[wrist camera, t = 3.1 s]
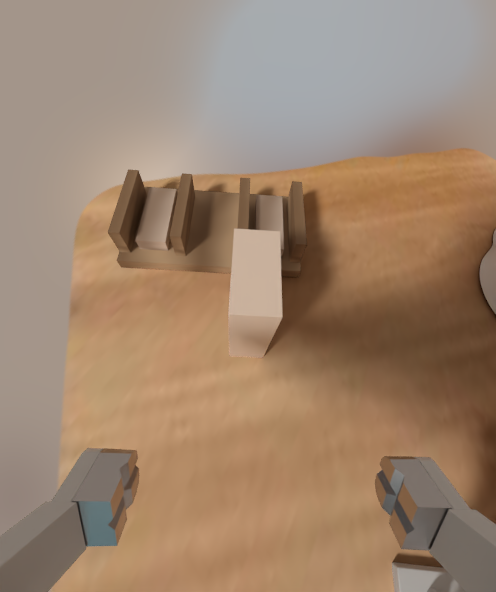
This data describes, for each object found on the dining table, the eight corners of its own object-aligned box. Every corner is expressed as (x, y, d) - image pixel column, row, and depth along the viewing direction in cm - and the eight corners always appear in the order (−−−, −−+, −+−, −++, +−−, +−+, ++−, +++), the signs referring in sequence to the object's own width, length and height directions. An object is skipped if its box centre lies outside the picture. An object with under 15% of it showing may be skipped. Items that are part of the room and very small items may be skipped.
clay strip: (263, 297, 26) (280, 231, 17) (262, 357, 24) (282, 317, 15) (232, 295, 26) (234, 228, 17) (229, 356, 24) (228, 314, 15)
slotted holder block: (293, 204, 32) (302, 175, 28) (298, 277, 28) (308, 253, 24) (141, 194, 31) (129, 162, 27) (121, 267, 27) (103, 241, 23)
